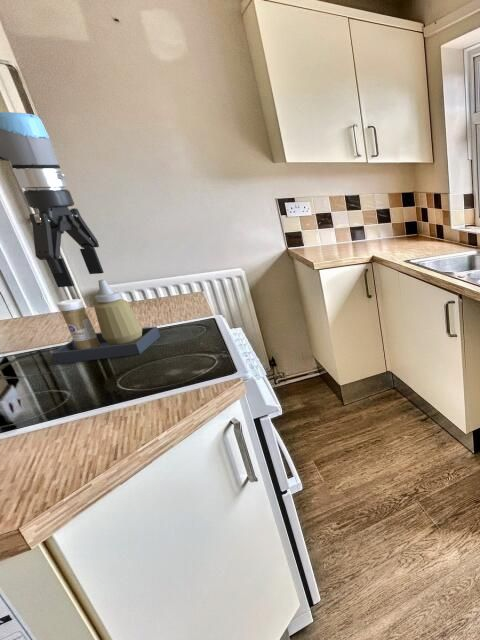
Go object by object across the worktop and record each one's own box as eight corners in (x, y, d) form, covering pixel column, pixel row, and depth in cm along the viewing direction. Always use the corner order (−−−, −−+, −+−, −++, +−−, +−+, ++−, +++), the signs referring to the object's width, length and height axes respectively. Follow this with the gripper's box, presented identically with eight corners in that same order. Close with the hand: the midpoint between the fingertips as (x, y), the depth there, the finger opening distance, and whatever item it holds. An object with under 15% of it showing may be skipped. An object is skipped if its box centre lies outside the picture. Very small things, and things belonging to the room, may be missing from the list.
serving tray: (56, 364, 104) (50, 353, 102) (85, 344, 115) (81, 334, 114) (140, 354, 109) (136, 343, 108) (160, 336, 120) (157, 326, 119)
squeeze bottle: (137, 338, 118) (113, 275, 111) (153, 342, 115) (129, 278, 108) (101, 348, 111) (73, 282, 104) (117, 353, 108) (88, 285, 101)
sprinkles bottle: (74, 354, 108) (51, 304, 103) (87, 347, 112) (65, 299, 107) (94, 352, 109) (72, 303, 103) (106, 346, 113) (86, 297, 108)
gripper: (30, 191, 87) (72, 291, 95) (94, 186, 108) (124, 267, 117) (-18, 192, 84) (29, 294, 93) (57, 186, 106) (90, 269, 114)
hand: (82, 279), depth 105 cm, fingers open, 13 cm apart
